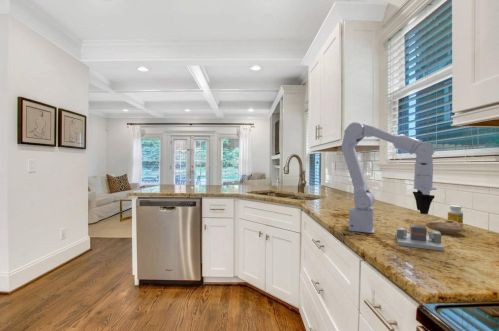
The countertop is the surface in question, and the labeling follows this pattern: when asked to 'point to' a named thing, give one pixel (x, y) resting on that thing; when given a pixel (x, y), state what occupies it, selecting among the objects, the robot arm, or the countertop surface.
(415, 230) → the block
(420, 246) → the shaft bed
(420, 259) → the countertop surface
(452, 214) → the supplement bottle
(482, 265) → the countertop surface
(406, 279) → the countertop surface
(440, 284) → the countertop surface
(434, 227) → the pottery oil lamp
